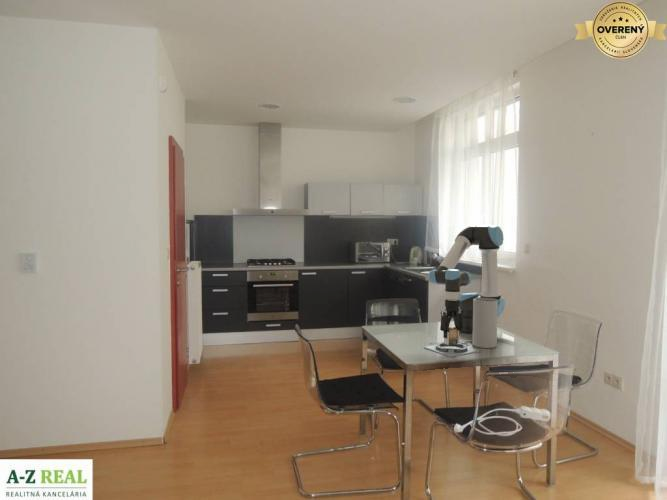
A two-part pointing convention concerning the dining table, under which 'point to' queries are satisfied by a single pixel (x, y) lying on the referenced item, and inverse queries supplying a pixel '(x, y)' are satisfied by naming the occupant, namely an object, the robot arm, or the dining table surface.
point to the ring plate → (451, 350)
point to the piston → (453, 335)
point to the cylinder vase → (485, 322)
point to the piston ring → (461, 350)
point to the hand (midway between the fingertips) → (451, 343)
